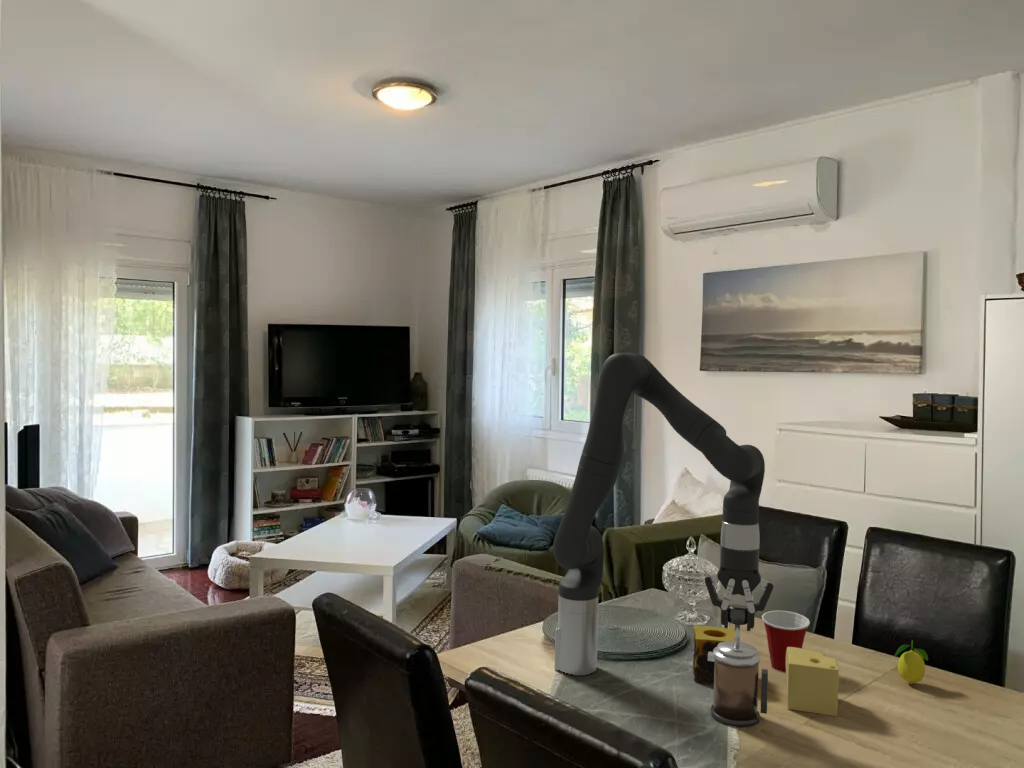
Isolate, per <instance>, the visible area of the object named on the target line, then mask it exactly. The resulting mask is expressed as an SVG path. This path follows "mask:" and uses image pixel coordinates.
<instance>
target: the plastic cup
mask: <svg viewBox="0 0 1024 768" xmlns="http://www.w3.org/2000/svg"><path fill="white" fill-rule="evenodd" d="M761 619H762V622H763V623H764V627H765V632H766V638H767V639H766V640H767V647H768V648H767V649H768V653H769V660H770V664H771V667H772V669H774V670H777V671H780V672H784V673H786V651H787V647H796V648H802V649H803V645H804V641H805V636H806V633H807V629H808V627H809V626H810V624H811V621H810V620H809V618H808V617H806V616H805V615H802V614H799V613H798V612H794V611H788V610H770V611H767V612H764V613H763V614H762V615H761Z"/></svg>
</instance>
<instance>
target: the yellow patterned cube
mask: <svg viewBox="0 0 1024 768" xmlns="http://www.w3.org/2000/svg"><path fill="white" fill-rule="evenodd" d="M725 641H735V628H733V627H728V628H724V626H722V627H719V626H707V625H705V626H704V625H697V624H696V625H694V626H693V643H694V644H693V655H692V656H693V657H692V659H693V660H692V661H693V662H692V664H693V665H692V666H693V667H692V669H693V676H694V677H693V681H694V682H696V683H700V684H707V685H708V684H711V685H714V664H715V662H713V661H708V652H713V650H714V648H715V647H717V646H718V644H719V643H721V642H725Z"/></svg>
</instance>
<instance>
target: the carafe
mask: <svg viewBox="0 0 1024 768" xmlns="http://www.w3.org/2000/svg"><path fill="white" fill-rule="evenodd" d="M761 657H762V655H761V654H760V652H759V651H757V650H756V655H755V656H753V657H748V658H738V657H731V656H727V655H725V654H722V653H720V652H719V651H718V649H717V647H715V648H714V650H713V652H708V661H713V662H715V664H714V684H713V703H712V705H711V707H710V716H711V718H713V720H715V721H716V722H718V723H720V724H721V725H722V724H723V725H726V726H730V727H733V728H734V727H735V728H751V727H754V726H757V725H759V723H760V720H761V714H765V715H767V714H768V711H767V710H768V690H769V689H768V687H769V686H768V684H769V683H768V682H769V680H768V679H769V669H766V668H765V669H764V668H761V676H760V677H761V680H760V681H761V683H760V712H759V710H758V707H759V705H758V704H759V702H758V701H759V700H758V699H759V672H760V671H759V670H760V667H759V665H760V663H761Z"/></svg>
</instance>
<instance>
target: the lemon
mask: <svg viewBox="0 0 1024 768" xmlns="http://www.w3.org/2000/svg"><path fill="white" fill-rule="evenodd" d="M910 646H911V647H910ZM909 647H910V650H909V651H905V652H903V651H904V650H906V649H907V648H909ZM913 649H914V650H913ZM901 652H903V653H902V654H901V655H900V657H899V659H898V662H897V672H898V674H899V676H900V678H902V679H903V680H904V681H906V682H907V683H909V684H910V685H914V684H915V683H918V682H921V681H922V680H923V679H924V677H925V675H926V665H925V664H926V663H925V661H926V662H927V661H929V657H928V654H927V652H926V651H925V650H924V649H922V648H915V647H914V641H913V640H912V639H911V644H910V645H909V644H902V645H900V646H899V647H898V649H896V652H895V653H894V657H896V656H898V655H899V654H900V653H901Z"/></svg>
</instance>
